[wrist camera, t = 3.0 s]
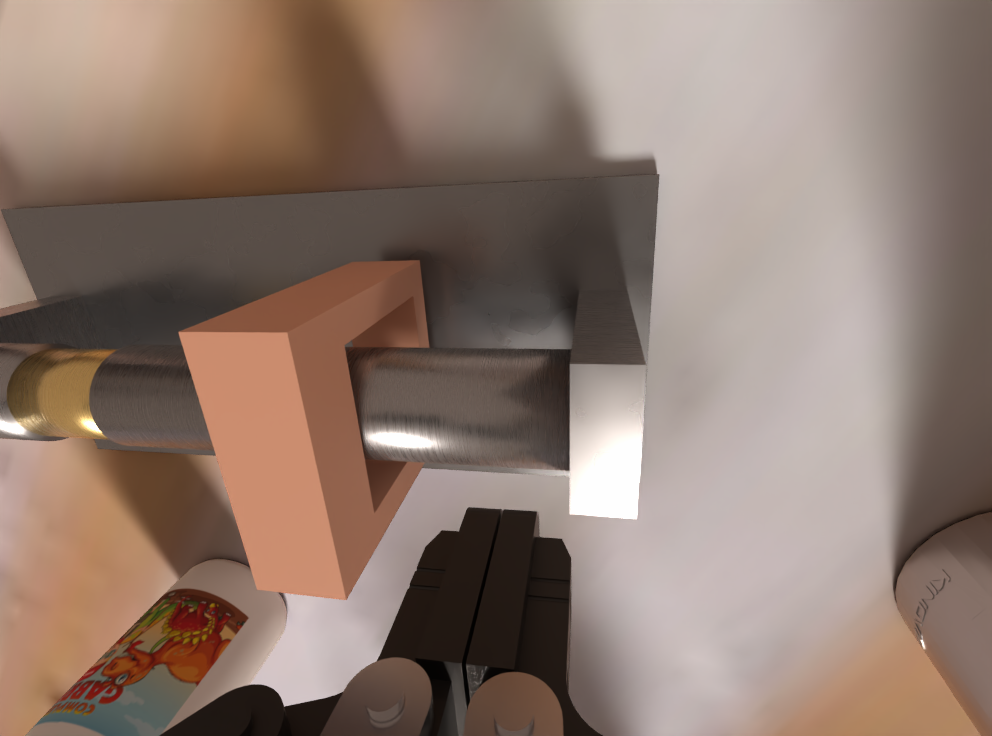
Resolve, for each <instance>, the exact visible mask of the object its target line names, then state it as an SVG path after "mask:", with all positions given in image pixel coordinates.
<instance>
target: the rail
mask: <svg viewBox="0 0 992 736" xmlns="http://www.w3.org/2000/svg"><path fill="white" fill-rule="evenodd" d="M658 186H659V174H650V175H631V176H612V177H594V178H575V179H556V180H538V181H519V182H501V183H482V184H463V185H445V186H426V187H407V188H389V189H370V190H352V191H333V192H314V193H296V194H277V195H258V196H240V197H221V198H203V199H184V200H165V201H147V202H128V203H109V204H91V205H72V206H54V207H35V208H16V209H2V210H1V211H2V214H3V216H4V218H5V221H6V223H7V226H8V228H9V231H10V233H11V236H12V238H13V241H14V243H15V246H16V248H17V250H18V253H19V255H20V258H21V260H22V263H23V265H24V268H25V270H26V273H27V275H28V278H29V280H30V282H31V285H32V287H33V290H34V292H35V295H36V297H37V300H34V301H30V302H26V303H22V304H18V305H14V306H10V307H5V308H1V309H0V438H3V439H20V440H38V441H57V440H62V439H66V438H69V437H74V438H92V439H94V440H95V442H96V445H97V447H98V449H112V450H129V451H146V452H162V453H179V454H196V455H213V456H216V454H215V451H214V447H213V444H212V441H211V438H210V434H209V431H208V428H207V424H206V421H205V418H204V415H203V411H202V408H201V405H200V402H199V398H198V395H197V392H196V389H195V385H194V382H193V379H192V376H191V372H190V369H189V366H188V362H187V359H186V356H185V353H184V349H183V346H182V343H181V340H180V336H179V333H178V332H179V331H182V330H184V329H187V328H189V327H192V326H194V325H197V324H199V323H202V322H204V321H207V320H209V319H212V318H214V317H217V316H219V315H222V314H224V313H227V312H229V311H232V310H234V309H237V308H239V307H242V306H244V305H247V304H249V303H252V302H254V301H257V300H259V299H261V298H264V297H266V296H269V295H271V294H274V293H276V292H279V291H281V290H284V289H286V288H289V287H291V286H294V285H296V284H299V283H301V282H304V281H306V280H309V279H311V278H314V277H316V276H319V275H321V274H324V273H326V272H329V271H331V270H334V269H336V268H339V267H341V266H344V265H346V264H349V263H351V262H368V261H409V260H420V268H421V277H422V286H423V295H424V304H425V313H426V322H427V331H428V340H429V348H414V347H353V344H352V340H351V341H350V342H348V343H347V344H346V345H344V346H345V351H346V357H347V363H348V368H349V374H350V379H351V385H352V391H353V396H354V402H355V408H356V413H357V419H358V424H359V430H360V436H361V441H362V447H363V453H364V458H365V459H369V460H387V461H404V462H422V463H424V465H423V467H422V468H431V469H448V470H465V471H482V472H499V473H515V474H532V475H549V476H566V477H570V514H576V515H590V516H603V517H617V518H630V519H637V504H638V488H639V481H640V470H641V455H642V439H643V423H644V407H645V391H646V376H647V360H648V344H649V328H650V312H651V297H652V281H653V265H654V249H655V233H656V218H657V202H658Z"/></svg>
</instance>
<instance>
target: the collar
mask: <svg viewBox="0 0 992 736" xmlns="http://www.w3.org/2000/svg"><path fill="white" fill-rule="evenodd" d="M178 333H179V336H180V340H181V343H182V346H183V349H184V353H185V356H186V359H187V362H188V366H189V369H190V372H191V376H192V379H193V382H194V385H195V389H196V392H197V395H198V398H199V402H200V405H201V408H202V411H203V415H204V418H205V421H206V424H207V428H208V431H209V434H210V438H211V441H212V444H213V447H214V451H215V454H216V457H217V460H218V464H219V467H220V470H221V473H222V477H223V480H224V483H225V486H226V490H227V493H228V496H229V500H230V503H231V506H232V509H233V513H234V516H235V519H236V522H237V526H238V529H239V532H240V535H241V539H242V542H243V545H244V548H245V552H246V555H247V558H248V562H249V565H250V568H251V571H252V575H253V578H254V581H255V584H256V588H257V590H264V591H273V592H281V593H290V594H298V595H307V596H316V597H324V598H333V599H341V600H347V598H348V596H349V594H350V593H351V591H352V589H353V587H354V586H355V584H356V582H357V580H358V579H359V577H360V575H361V573H362V572H363V570H364V568H365V566H366V565H367V563H368V561H369V559H370V558H371V556H372V554H373V553H374V551H375V549H376V547H377V546H378V544H379V542H380V540H381V539H382V537H383V535H384V533H385V532H386V530H387V528H388V526H389V525H390V523H391V521H392V519H393V518H394V516H395V514H396V512H397V511H398V509H399V507H400V505H401V504H402V502H403V500H404V498H405V497H406V495H407V493H408V491H409V490H410V488H411V486H412V484H413V483H414V481H415V479H416V477H417V476H418V474H419V472H420V470H421V469H422V467H423V465H424V463H422V462H404V461H387V460H369V459H365V458H364V453H363V447H362V441H361V436H360V430H359V424H358V419H357V413H356V408H355V402H354V396H353V391H352V385H351V379H350V374H349V368H348V363H347V357H346V351H345V346H344V345H346V344H347V343H348V342H350V341H351V340H352V344H353V347H414V348H429V340H428V331H427V322H426V313H425V304H424V295H423V286H422V277H421V268H420V260H409V261H368V262H351V263H349V264H346V265H344V266H341V267H339V268H336V269H334V270H331V271H329V272H326V273H324V274H321V275H319V276H316V277H314V278H311V279H309V280H306V281H304V282H301V283H299V284H296V285H294V286H291V287H289V288H286V289H284V290H281V291H279V292H276V293H274V294H271V295H269V296H266V297H264V298H261V299H259V300H257V301H254V302H252V303H249V304H247V305H244V306H242V307H239V308H237V309H234V310H232V311H229V312H227V313H224V314H222V315H219V316H217V317H214V318H212V319H209V320H207V321H204V322H202V323H199V324H197V325H194V326H192V327H189V328H187V329H184V330H182V331H179V332H178Z"/></svg>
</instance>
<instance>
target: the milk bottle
mask: <svg viewBox="0 0 992 736" xmlns="http://www.w3.org/2000/svg"><path fill="white" fill-rule="evenodd" d="M286 619H287V612H286V606H285V604H284V601H283V599H282V597H281V595H280V594H279V592H273V591H264V590H257V588H256V584H255V581H254V578H253V575H252V571H251V568H250V567H248V566H246V565H244V564H241V563H238V562H235V561H231V560H226V559H213V560H207V561H205V562H203V563H200V564H197V565H195V566H194V567H192V568H191V569H190V570H189V571H188V572H187V573H186V574H185V575H183V576H182V577H181V578H180V579H179V580H178V581H177V582H176V583H175V584H174V585H173V586H172V587H171V588H170V589H169V590H168V591H167V592H166V593H165V594H164V595H163V596H162V597H161V598H160V599H159V600H158V601H157V602H156V603H155V604H154V605H153V606H152V607H151V608H150V609H149V610H148V611H147V612H146V613H145V614H144V615H143V616H142V617H141V618H140V619H139V620H138V621H137V622H136V623H135V624H134V625H133V626H132V627H131V628H130V629H129V630H128V631H127V632H126V633H125V634H124V635H123V636H122V637H121V638H120V639H119V640H118V641H117V642H116V643H115V644H114V645H113V646H112V647H111V648H110V649H109V650H108V651H107V652H106V653H105V654H104V655H103V656H102V657H101V658H100V659H99V660H98V661H97V662H96V663H95V664H94V665H93V666H92V667H91V668H90V669H89V670H88V671H87V672H86V673H85V674H84V675H83V676H82V677H81V678H80V679H79V680H78V681H77V682H76V683H75V684H74V685H73V686H72V687H71V688H70V689H69V690H68V691H67V692H66V693H65V694H64V695H63V696H62V697H61V698H60V699H59V700H58V701H57V702H56V703H55V705H54V706H53V707H52V708H51V709H50V710H49V711H48V712H47V713H46V714H45V715H44V716H43V717H42V718H41V719H40V720H39V721H38V723H37V724H36V725H35V726H34V727H33V728H32V729H31V730H30V731H29V732H28V733H27V734H26V735H25V736H159V735H161V734H162V733H164V732H165V731H167V730H169V729H170V728H172V727H173V726H175V725H176V724H178V723H179V722H181V721H182V720H184V719H186V718H187V717H189V716H190V715H192V714H193V713H195V712H196V711H198V710H200V709H201V708H203V707H204V706H206V705H207V704H209V703H210V702H212V701H214V700H215V699H217V698H218V697H220V696H222V695H223V694H225V693H227V692H229V691H231V690H233V689H236V688H239V687H242V686H246V685H250V683H251V682H252V680H253V679H254V677H255V676H256V674H257V673H258V671H259V670H260V668H261V667H262V665H263V664H264V662H265V661H266V659H267V658H268V656H269V655H270V653H271V652H272V650H273V649H274V647H275V646H276V644H277V642H278V641H279V639H280V638H281V636H282V634H283V632H284V630H285V626H286Z"/></svg>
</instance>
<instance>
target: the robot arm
mask: <svg viewBox="0 0 992 736" xmlns="http://www.w3.org/2000/svg"><path fill="white" fill-rule="evenodd" d="M895 595H896V601H897V607H898V610H899V612H900V614H901V616H902V618H903V620H904V622H905V623H906V625H907V626H908V628H909V629H910V631H911V632H912V633H913V635H914V636H915V638H916V639H917V641H918V642H919V644H920V645H921V647H922V648H923V650H924V651H925V653H926V654H927V656H928V657H929V659H930V660H931V662H932V663H933V665H934V666H935V668H936V669H937V671H938V672H939V673H940V675H941V676H942V678H943V679H944V681H945V682H946V684H947V685H948V687H949V688H950V690H951V691H952V693H953V695H954V696H955V698H956V699H957V701H958V702H959V704H960V705H961V707H962V708H963V710H964V711H965V713H966V714H967V716H968V717H969V718H970V720H971V721H972V723H973V724H974V726H975V727H976V729H977V730H978V732H979V733H980V735H981V736H992V512H989V513H985V514H980V515H977V516H974V517H972V518H969V519H966V520H963V521H961V522H958V523H955V524H953V525H951V526H950V527H948V528H946V529H944V530H942V531H941V532H939V533H937V534H935V535H934V536H932V537H931V538H930V539H929V540H927V541H926V542H925V543H924V544H922V545H921V546H920V547H919V548H917V549H916V551H915V552H914V553H913V554H912V555H911V557H910V558H909V559H908V560H907V561H906V563H905V564H904V567H903V569H902V571H901V573H900V575H899V577H898V580H897V586H896V592H895ZM570 634H571V557H570V555H569V553H568V551H567V549H566V547H565V545H564V543H563V541H562V539H556V538H542V537H539V514H538V512H536V511H520V510H504V511H502V509H486V508H470V507H469V508H468V509H467V510H466V513H465V516H464V519H463V522H462V524H461V527H460V530H459V532H457V531H443V530H442V531H441V532H440V533H439V534H438V535H437V536H436V537H435V538H434V539H433V540H432V541H431V542H430V543H429V544H428V545H427V546H426V547H425V549H424V552H423V554H422V557H421V559H420V561H419V564H418V566H417V571H415V573H414V576H413V578H412V580H411V583H410V588H409V589H408V590H407V592H406V595H405V597H404V599H403V602H402V604H401V606H400V609H399V611H398V614H397V616H396V618H395V621H394V623H393V625H392V628H391V630H390V633H389V635H388V637H387V640H386V642H385V644H384V647H383V649H382V652H381V654H380V656H379V658H378V660H377V662H374V663H372V664H370V665H368V666H367V667H365V668H364V669H363V670H361V671H360V672H359V673H358V674H357V675H356V676H354V678H353V679H352V680H351V681H350V682H349V684H348V685H347V687H346V688H345V690H344V692H342V693H339V694H337V695H335V696H331V697H328V698H324V699H319V700H314V701H309V702H305V703H300V704H295V705H290V706H285V707H284V705H283V702H282V699H281V697H280V696H279V694H278V693H277V692H276V691H275V690H274V689H272V688H270V687H268V686H265V685H246V686H242V687H239V688H236V689H233V690H231V691H229V692H227V693H225V694H223V695H222V696H220V697H218V698H217V699H215V700H214V701H212V702H210V703H209V704H207V705H206V706H204V707H203V708H201V709H200V710H198V711H196V712H195V713H193V714H192V715H190V716H189V717H187V718H186V719H184V720H182V721H181V722H179V723H178V724H176V725H175V726H173V727H172V728H170V729H169V730H167V731H165V732H164V733H162V734H161V735H159V736H603V735H601V734H599V733H598V732H596V731H595V730H594V729H592V728H591V727H590V726H589V725H588V724H587V723H586V722H585V721H584V720H583V719H582V718H581V717H580V715H579V714H578V713H577V711H576V710H575V708H574V706H573V704H572V702H571V699H570V697H569V694H568V688H569V659H570Z"/></svg>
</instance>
